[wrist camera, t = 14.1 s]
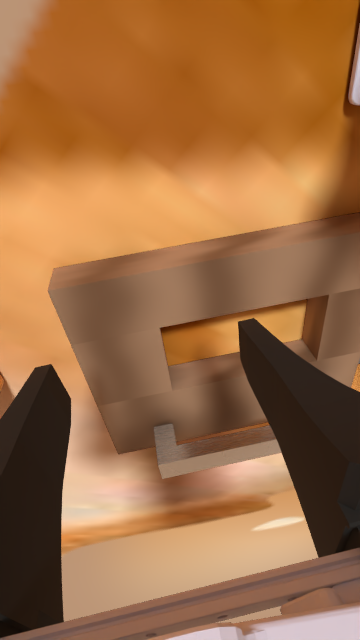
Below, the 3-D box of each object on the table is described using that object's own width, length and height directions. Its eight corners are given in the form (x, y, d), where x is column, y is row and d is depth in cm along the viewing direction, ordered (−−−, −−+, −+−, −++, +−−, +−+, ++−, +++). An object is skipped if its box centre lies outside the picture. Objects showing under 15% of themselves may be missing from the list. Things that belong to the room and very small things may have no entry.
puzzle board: (372, 209, 21) (398, 225, 19) (331, 383, 31) (345, 405, 29) (53, 268, 20) (47, 290, 18) (118, 429, 30) (118, 454, 28)
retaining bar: (337, 387, 27) (360, 420, 25) (333, 403, 28) (354, 436, 26) (153, 426, 26) (158, 465, 24) (157, 441, 28) (162, 478, 25)
